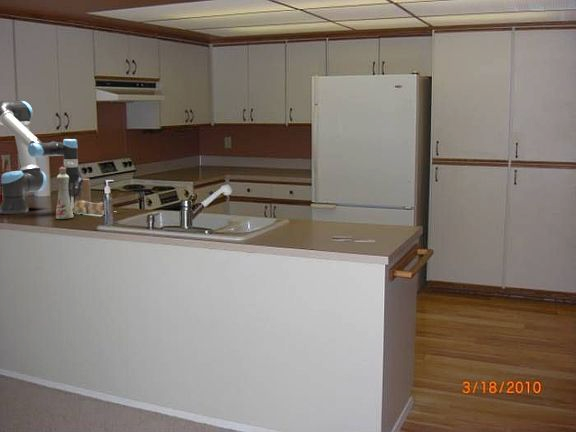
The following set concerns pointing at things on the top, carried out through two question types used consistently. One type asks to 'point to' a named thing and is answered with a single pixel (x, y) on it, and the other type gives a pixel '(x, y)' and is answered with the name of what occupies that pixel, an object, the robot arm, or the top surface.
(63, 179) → the bottle
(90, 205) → the fence fixed leg
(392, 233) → the top surface
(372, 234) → the top surface
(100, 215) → the board
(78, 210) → the fence panel
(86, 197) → the wooden block
